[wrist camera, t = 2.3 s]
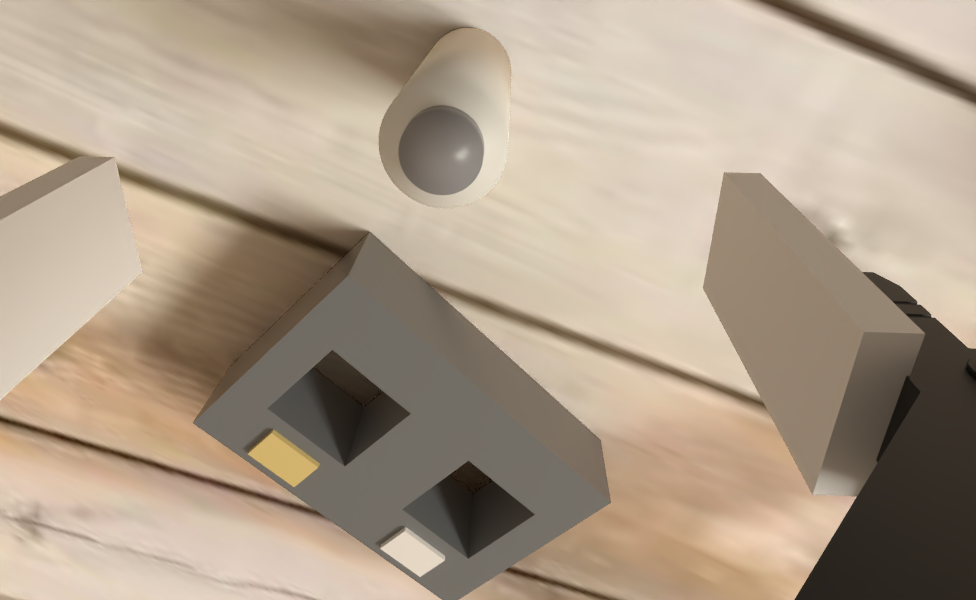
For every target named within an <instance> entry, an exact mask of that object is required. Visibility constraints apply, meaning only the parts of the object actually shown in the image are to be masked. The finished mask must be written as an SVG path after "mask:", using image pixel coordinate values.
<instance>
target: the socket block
mask: <svg viewBox="0 0 976 600" xmlns="http://www.w3.org/2000/svg"><path fill="white" fill-rule="evenodd" d="M332 350H333V351H334V352H335V353H337V354H338V355H339V356H340V357H342V358H343V359H344V360H345V361H346V362H348V363H349V364H350V365H351V366H353V367H354V368H355V369H356V370H358V371H359V372H360V373H361V374H362V375H364V376H365V377H366V378H367V379H369V380H370V381H371V382H372V383H374V384H375V385H376V386H377V387H378V388H380V389H381V390H382V391H383V392H382V393H380V394H379V395H378V396H377V397H376V398H374V399H373V400H372V401H371V402H370V403H368V404H367V405H366V406H365V407H363V406H362V405H361V404H359V403H358V402H357V401H355V400H354V399H353V398H352V397H350V396H349V395H348V394H347V393H345V392H344V391H343V390H342V389H340V388H339V387H338V386H337V385H335V384H334V383H333V382H331V381H330V380H329V379H328V378H326V377H325V376H324V375H323V374H321V373H320V372H319V371H318V370H316V369H315V368H314V366H315V365H316V364H317V363H318V362H319V361H321V360H322V359H323V358H324V357H325V356H326V355H327V354H328V353H329V352H331V351H332ZM193 423H194V424H195V425H197V426H198V427H199V428H201V429H202V430H204V431H205V432H206V433H208V434H209V435H211V436H212V437H213V438H215V439H216V440H218V441H219V442H221V443H222V444H223V445H225V446H226V447H228V448H229V449H230V450H232V451H233V452H235V453H236V454H237V455H239V456H240V457H242V458H243V459H245V460H246V461H247V462H249V463H250V464H252V465H253V466H254V467H256V468H257V469H259V470H260V471H261V472H263V473H264V474H266V475H267V476H268V477H270V478H271V479H273V480H274V481H276V482H277V483H278V484H280V485H281V486H283V487H284V488H285V489H287V490H288V491H290V492H291V493H292V494H294V495H295V496H297V497H298V498H300V499H301V500H302V501H304V502H305V503H307V504H308V505H309V506H311V507H312V508H314V509H315V510H316V511H318V512H319V513H321V514H322V515H324V516H325V517H326V518H328V519H329V520H331V521H332V522H333V523H335V524H336V525H338V526H339V527H340V528H342V529H343V530H345V531H346V532H347V533H349V534H350V535H352V536H353V537H355V538H356V539H357V540H359V541H360V542H362V543H363V544H364V545H366V546H367V547H369V548H370V549H371V550H373V551H374V552H376V553H377V554H379V555H380V556H381V557H383V558H384V559H386V560H387V561H388V562H390V563H391V564H393V565H394V566H395V567H397V568H398V569H400V570H401V571H403V572H404V573H405V574H407V575H408V576H410V577H411V578H412V579H414V580H415V581H417V582H418V583H419V584H421V585H422V586H424V587H425V588H426V589H428V590H429V591H431V592H432V593H434V594H435V595H436V596H438V597H439V598H441V599H442V600H459V599H460V598H462V597H463V596H465V595H466V594H468V593H470V592H471V591H473V590H474V589H476V588H477V587H479V586H481V585H482V584H484V583H485V582H487V581H489V580H490V579H492V578H493V577H495V576H496V575H498V574H500V573H501V572H503V571H504V570H506V569H507V568H509V567H511V566H512V565H514V564H515V563H517V562H518V561H520V560H522V559H523V558H525V557H526V556H528V555H529V554H531V553H533V552H534V551H536V550H537V549H539V548H540V547H542V546H544V545H545V544H547V543H548V542H550V541H551V540H553V539H555V538H556V537H558V536H559V535H561V534H562V533H564V532H566V531H567V530H569V529H570V528H572V527H573V526H575V525H577V524H578V523H580V522H581V521H583V520H584V519H586V518H588V517H589V516H591V515H592V514H594V513H596V512H597V511H599V510H600V509H602V508H603V507H605V506H607V505H608V504H610V503H611V500H610V494H609V488H608V482H607V476H606V470H605V464H604V458H603V452H602V446H601V440H600V439H599V438H598V437H597V436H595V435H594V434H593V433H592V432H591V431H590V430H589V429H588V428H587V427H586V426H584V425H583V424H582V423H581V422H580V421H579V420H578V419H577V418H576V417H574V416H573V415H572V414H571V413H570V412H569V411H568V410H567V409H566V408H564V407H563V406H562V405H561V404H560V403H559V402H558V401H557V400H556V399H555V398H553V397H552V396H551V395H550V394H549V393H548V392H547V391H546V390H545V389H543V388H542V387H541V386H540V385H539V384H538V383H537V382H536V381H535V380H533V379H532V378H531V377H530V376H529V375H528V374H527V373H526V372H525V371H524V370H522V369H521V368H520V367H519V366H518V365H517V364H516V363H515V362H514V361H512V360H511V359H510V358H509V357H508V356H507V355H506V354H505V353H504V352H503V351H501V350H500V349H499V348H498V347H497V346H496V345H495V344H494V343H493V342H491V341H490V340H489V339H488V338H487V337H486V336H485V335H484V334H483V333H481V332H480V331H479V330H478V329H477V328H476V327H475V326H474V325H473V324H472V323H470V322H469V321H468V320H467V319H466V318H465V317H464V316H463V315H462V314H460V313H459V312H458V311H457V310H456V309H455V308H454V307H453V306H452V305H450V304H449V303H448V302H447V301H446V300H445V299H444V298H443V297H442V296H441V295H439V294H438V293H437V292H436V291H435V290H434V289H433V288H432V287H431V286H429V285H428V284H427V283H426V282H425V281H424V280H423V279H422V278H421V277H420V276H418V275H417V274H416V273H415V272H414V271H413V270H412V269H411V268H410V267H408V266H407V265H406V264H405V263H404V262H403V261H402V260H401V259H400V258H398V257H397V256H396V255H395V254H394V253H393V252H392V251H391V250H390V249H389V248H387V247H386V246H385V245H384V244H383V243H382V242H381V241H380V240H379V239H377V238H376V237H375V236H374V235H373V234H372V233H371V232H369V233H368V234H367V235H366V236H365V237H364V238H363V239H362V240H361V241H360V242H359V243H358V244H357V245H356V246H355V247H353V248H352V249H351V250H350V251H349V252H348V253H347V254H346V255H345V256H344V257H343V258H342V259H341V260H340V261H339V262H338V263H337V264H336V265H335V266H334V267H333V268H332V269H331V270H330V271H329V272H328V273H327V274H326V275H325V276H323V277H322V278H321V279H320V280H319V281H318V282H317V283H316V284H315V285H314V286H313V287H312V288H311V289H310V290H309V291H308V292H307V293H306V294H305V295H304V296H303V297H302V298H301V299H300V300H299V301H298V302H297V303H296V304H295V305H293V306H292V307H291V308H290V309H289V310H288V311H287V312H286V313H285V314H284V315H283V316H282V317H281V318H280V319H279V320H278V321H277V322H276V323H275V324H274V325H273V326H272V327H271V328H270V329H269V330H268V331H267V332H266V333H265V334H263V335H262V336H261V337H260V338H259V339H258V340H257V341H256V342H255V343H254V344H253V345H252V346H251V347H250V348H249V349H248V350H247V351H246V352H245V353H244V354H243V355H242V356H241V357H240V358H239V359H238V360H237V361H236V362H235V363H233V364H232V365H231V366H230V368H229V369H228V371H227V372H226V374H225V375H224V377H223V378H222V380H221V381H220V383H219V384H218V386H217V387H216V389H215V390H214V392H213V393H212V395H211V396H210V398H209V399H208V401H207V402H206V404H205V405H204V407H203V408H202V410H201V411H200V413H199V414H198V416H197V417H196V419H195V420H194V422H193ZM467 461H470V462H471V463H472V464H473V465H475V466H476V467H477V468H478V469H479V470H481V471H482V472H483V473H484V474H486V475H487V476H488V477H489V478H491V479H492V481H491V482H490V483H488V484H487V485H485V486H484V487H482V488H481V489H480V490H478V491H477V492H475V493H474V494H473V493H472V492H470V491H469V490H468V489H466V488H465V487H464V486H463V485H461V484H460V483H459V482H458V481H456V480H455V479H454V478H453V477H451V476H450V474H451V473H452V472H454V471H455V470H457V469H458V468H459V467H461V466H462V465H463V464H465V463H466V462H467Z"/></svg>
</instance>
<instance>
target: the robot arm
mask: <svg viewBox="0 0 976 600" xmlns="http://www.w3.org/2000/svg"><path fill="white" fill-rule="evenodd" d="M142 272H143V271H142V267H141V263H140V259H139V255H138V251H137V247H136V243H135V239H134V234H133V230H132V226H131V222H130V218H129V214H128V210H127V206H126V202H125V198H124V194H123V190H122V186H121V182H120V177H119V173H118V169H117V165H116V161H115V157H85V156H80V157H78V158H76V159H74V160H72V161H70V162H68V163H66V164H64V165H62V166H60V167H58V168H56V169H54V170H52V171H50V172H48V173H46V174H44V175H42V176H40V177H38V178H36V179H34V180H32V181H30V182H28V183H26V184H24V185H22V186H20V187H18V188H16V189H14V190H12V191H10V192H8V193H6V194H4V195H2V196H0V400H1V399H2V398H3V397H4V396H5V395H6V394H8V393H9V392H10V391H11V390H12V389H13V388H14V387H15V386H16V385H18V384H19V383H20V382H21V381H22V380H23V379H24V378H25V377H26V376H28V375H29V374H30V373H31V372H32V371H33V370H34V369H35V368H36V367H38V366H39V365H40V364H41V363H42V362H43V361H44V360H45V359H46V358H48V357H49V356H50V355H51V354H52V353H53V352H54V351H55V350H56V349H58V348H59V347H60V346H61V345H62V344H63V343H64V342H65V341H66V340H68V339H69V338H70V337H71V336H72V335H73V334H74V333H75V332H76V331H78V330H79V329H80V328H81V327H82V326H83V325H84V324H85V323H86V322H88V321H89V320H90V319H91V318H92V317H93V316H94V315H95V314H96V313H98V312H99V311H100V310H101V309H102V308H103V307H104V306H105V305H106V304H108V303H109V302H110V301H111V300H112V299H113V298H114V297H115V296H116V295H118V294H119V293H120V292H121V291H122V290H123V289H124V288H125V287H126V286H128V285H129V284H130V283H131V282H132V281H133V280H134V279H135V278H136V277H138V276H139V275H140V274H141V273H142ZM703 289H704V291H705V293H706V295H707V297H708V299H709V300H710V302H711V304H712V306H713V308H714V310H715V312H716V314H717V315H718V317H719V319H720V321H721V323H722V325H723V327H724V329H725V331H726V332H727V334H728V336H729V338H730V340H731V342H732V344H733V346H734V348H735V349H736V351H737V353H738V355H739V357H740V359H741V361H742V363H743V365H744V366H745V368H746V370H747V372H748V374H749V376H750V378H751V380H752V381H753V383H754V385H755V387H756V389H757V391H758V393H759V395H760V397H761V398H762V400H763V402H764V404H765V406H766V408H767V410H768V412H769V414H770V415H771V417H772V419H773V421H774V423H775V425H776V427H777V429H778V430H779V432H780V434H781V436H782V438H783V440H784V442H785V444H786V446H787V447H788V449H789V451H790V453H791V455H792V457H793V459H794V461H795V463H796V464H797V466H798V468H799V470H800V472H801V474H802V476H803V478H804V479H805V481H806V483H807V485H808V487H809V489H810V491H811V493H812V495H833V496H857V498H856V499H855V501H854V503H853V504H852V506H851V508H850V509H849V511H848V513H847V514H846V516H845V517H844V519H843V521H842V522H841V524H840V526H839V527H838V529H837V531H836V532H835V534H834V536H833V537H832V539H831V541H830V542H829V544H828V545H827V547H826V549H825V550H824V552H823V554H822V555H821V557H820V559H819V560H818V562H817V564H816V565H815V567H814V569H813V570H812V572H811V573H810V575H809V577H808V578H807V580H806V582H805V583H804V585H803V587H802V588H801V590H800V592H799V593H798V595H797V597H796V598H795V600H976V349H970V348H967V347H966V346H965V345H964V344H963V343H962V342H961V341H960V340H959V339H957V338H956V337H955V336H954V335H953V334H952V333H951V332H950V331H949V330H948V329H947V328H945V327H944V326H943V325H942V324H941V323H940V322H939V321H938V320H937V319H936V318H931V314H930V313H929V312H928V311H927V310H926V309H925V308H923V307H922V306H921V305H917V301H916V300H915V299H914V298H913V297H911V296H910V295H909V294H908V293H907V292H906V291H905V290H904V289H903V288H902V287H900V286H899V285H897V284H895V283H893V282H891V281H889V280H887V279H885V278H883V277H881V276H879V275H877V274H875V273H873V272H861V271H860V270H859V269H858V268H857V267H856V266H855V265H854V264H853V263H852V262H851V261H850V260H849V259H848V258H847V257H846V256H845V255H844V254H843V253H842V252H841V251H840V250H839V249H838V248H837V247H836V246H835V245H834V244H833V243H832V242H831V241H829V240H828V239H827V238H826V237H825V236H824V235H823V234H822V233H821V232H820V231H819V230H818V229H817V228H816V227H815V226H814V225H813V224H812V223H811V222H810V221H809V220H808V219H807V218H806V217H805V216H804V215H803V214H802V213H801V212H800V211H799V210H798V209H797V208H796V207H794V206H793V205H792V204H791V203H790V202H789V201H788V200H787V199H786V198H785V197H784V196H783V195H782V194H781V193H780V192H779V191H778V190H777V189H776V188H775V187H774V186H773V185H772V184H771V183H770V182H769V181H768V180H767V179H766V178H765V177H764V176H763V175H762V174H761V173H724V175H723V181H722V186H721V192H720V198H719V203H718V209H717V214H716V220H715V225H714V231H713V236H712V242H711V247H710V253H709V258H708V264H707V269H706V275H705V280H704V286H703Z"/></svg>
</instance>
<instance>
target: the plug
mask: <svg viewBox="0 0 976 600" xmlns="http://www.w3.org/2000/svg"><path fill="white" fill-rule="evenodd" d="M510 97H511V64H510V60H509V57H508V54H507V52H506V50H505V49H504V47H503V46H502V44H501V43H500V42H499V41H498V40H497V39H496V38H495V37H494V36H492V35H491V34H489V33H487V32H486V31H483V30H480V29H476V28H460V29H456V30H453V31H451V32H449V33H447V34H446V35H444V36H443V37H442V38H441V39H439V40H438V42H437V43H436V44H435V45H434V47H433V48H432V49H431V51H430V52H429V53H428V55H427V56H426V57H425V59H424V60H423V62H422V63H421V64H420V66H419V67H418V68H417V70H416V71H415V72H414V74H413V75H412V76H411V78H410V79H409V81H408V82H407V83H406V85H405V86H404V87H403V89H402V90H401V91H400V93H399V94H398V96H397V97H396V98H395V100H394V101H393V102H392V104H391V105H390V107H389V108H388V110H387V111H386V113H385V115H384V118H383V120H382V123H381V127H380V132H379V151H380V156H381V160H382V163H383V166H384V168H385V170H386V172H387V174H388V176H389V177H390V179H391V180H392V181H393V183H394V184H395V185H396V186H397V187H398V188H399V189H400V190H401V191H402V192H403V193H404V194H405V195H407V196H408V197H410V198H411V199H413V200H415V201H417V202H419V203H421V204H424V205H427V206H431V207H436V208H456V207H461V206H465V205H468V204H470V203H473V202H475V201H477V200H478V199H480V198H482V197H483V196H484V195H486V194H487V193H488V192H489V191H490V190H491V189H492V188H493V187H494V186H495V185H496V183H497V182H498V180H499V179H500V177H501V175H502V173H503V171H504V168H505V166H506V162H507V157H508V146H509V122H510Z"/></svg>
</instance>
